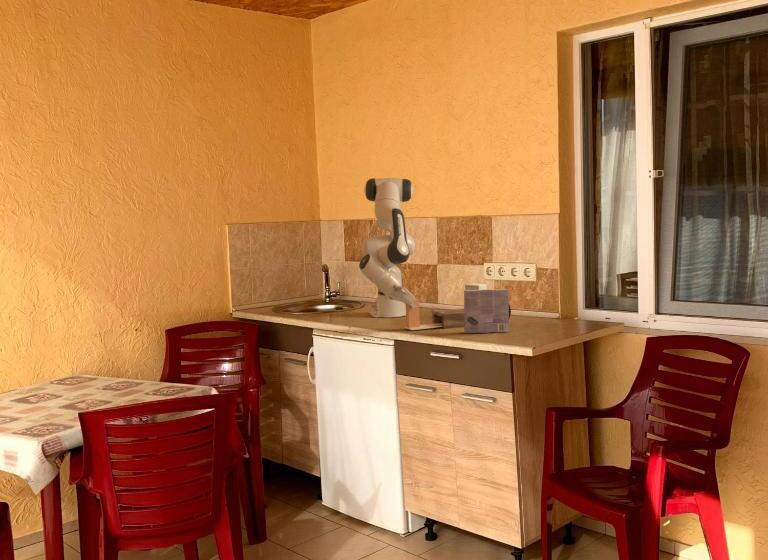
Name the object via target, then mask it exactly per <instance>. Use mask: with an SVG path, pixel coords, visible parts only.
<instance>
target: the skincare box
mask: <svg viewBox="0 0 768 560" xmlns="http://www.w3.org/2000/svg"><path fill="white" fill-rule="evenodd" d="M487 287H488V285H487V284H486V283H478V282H477V283H474V282H472V283H466V284H464V290H488V288H487Z"/></svg>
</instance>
